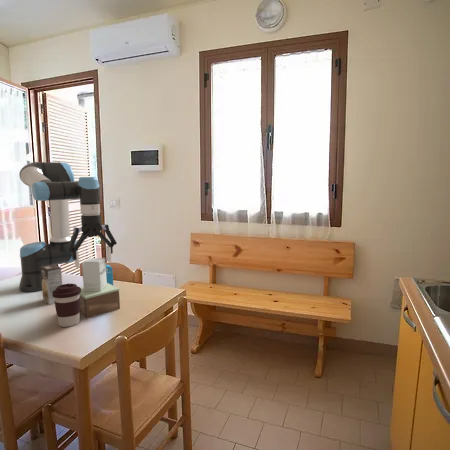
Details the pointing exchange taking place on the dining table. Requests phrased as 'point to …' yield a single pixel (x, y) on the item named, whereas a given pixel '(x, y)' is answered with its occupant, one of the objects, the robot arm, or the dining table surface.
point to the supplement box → (94, 274)
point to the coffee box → (50, 281)
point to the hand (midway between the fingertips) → (93, 264)
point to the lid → (105, 290)
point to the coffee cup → (67, 304)
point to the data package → (109, 274)
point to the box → (99, 304)
